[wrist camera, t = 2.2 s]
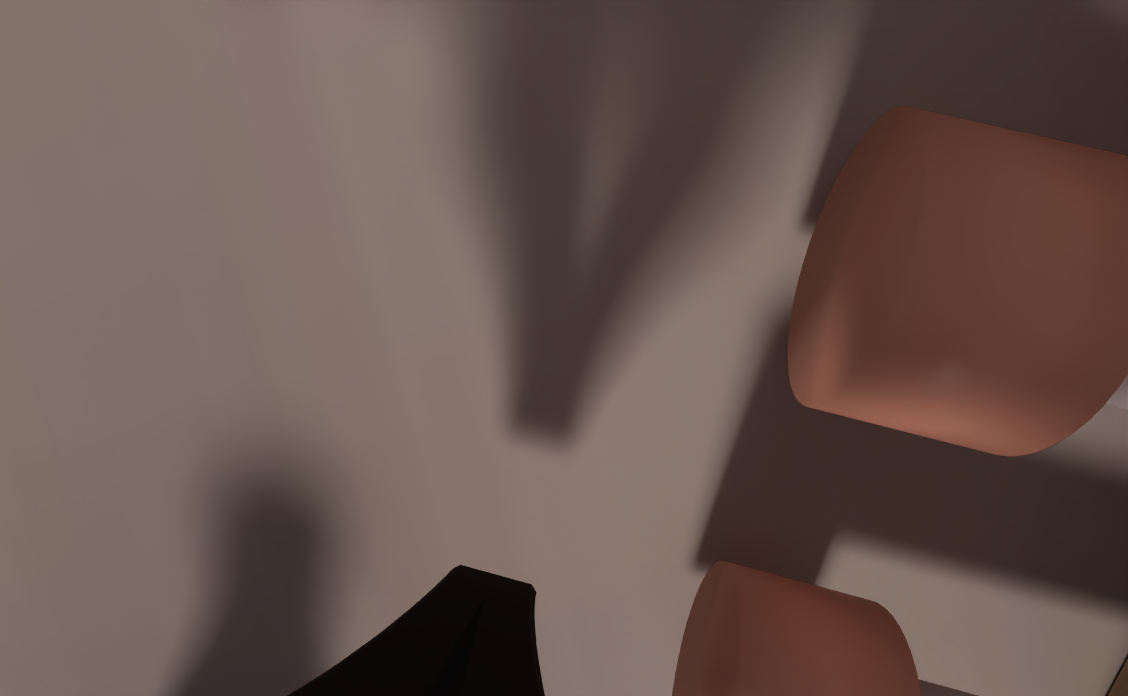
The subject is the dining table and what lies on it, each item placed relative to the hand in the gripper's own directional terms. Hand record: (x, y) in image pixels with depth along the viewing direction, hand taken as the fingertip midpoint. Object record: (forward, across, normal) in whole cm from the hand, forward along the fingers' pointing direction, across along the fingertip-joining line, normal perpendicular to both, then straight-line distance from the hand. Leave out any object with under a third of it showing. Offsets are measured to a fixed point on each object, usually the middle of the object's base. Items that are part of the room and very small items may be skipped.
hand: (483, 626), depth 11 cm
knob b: (+2, -8, -7) cm, 11 cm away
